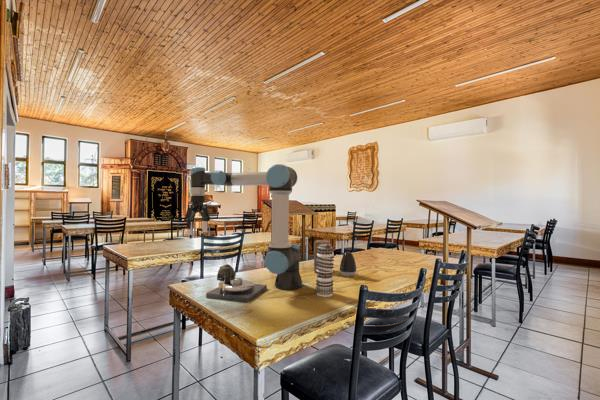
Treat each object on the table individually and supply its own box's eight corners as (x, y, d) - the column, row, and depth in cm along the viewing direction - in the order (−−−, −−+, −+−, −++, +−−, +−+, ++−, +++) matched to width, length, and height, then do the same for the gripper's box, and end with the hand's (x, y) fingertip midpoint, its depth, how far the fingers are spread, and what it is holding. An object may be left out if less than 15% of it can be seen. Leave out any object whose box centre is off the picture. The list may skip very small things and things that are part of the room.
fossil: (231, 280, 170) (223, 264, 170) (218, 287, 171) (210, 271, 172) (238, 275, 180) (231, 260, 181) (226, 281, 182) (219, 266, 183)
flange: (259, 284, 154) (259, 266, 154) (244, 293, 139) (244, 274, 139) (227, 281, 160) (228, 264, 160) (210, 289, 145) (210, 271, 145)
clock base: (266, 288, 156) (266, 275, 156) (247, 302, 135) (247, 287, 135) (229, 284, 163) (230, 272, 163) (206, 297, 142) (206, 282, 142)
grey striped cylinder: (313, 272, 193) (314, 241, 193) (315, 269, 202) (315, 239, 202) (329, 273, 191) (329, 242, 191) (330, 269, 201) (330, 240, 201)
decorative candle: (329, 298, 142) (329, 246, 142) (312, 295, 146) (312, 244, 146) (336, 293, 150) (337, 243, 150) (320, 290, 154) (320, 242, 154)
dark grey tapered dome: (344, 273, 192) (344, 249, 192) (359, 275, 186) (359, 251, 186) (336, 276, 184) (336, 251, 184) (351, 278, 177) (352, 253, 177)
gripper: (205, 195, 177) (205, 231, 177) (176, 194, 153) (176, 235, 153) (216, 195, 175) (216, 231, 175) (189, 194, 151) (188, 236, 151)
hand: (197, 233), depth 164 cm, fingers open, 13 cm apart
